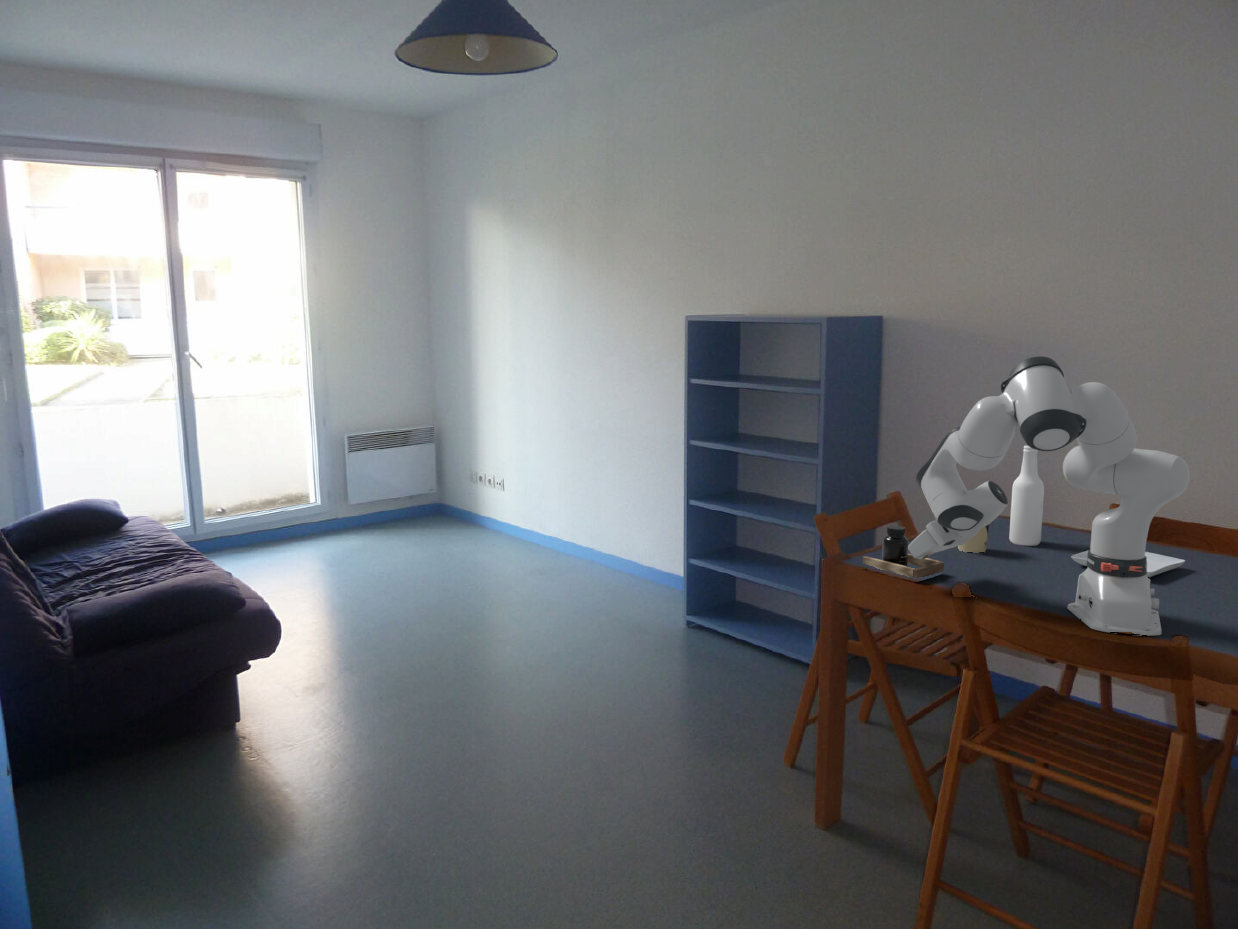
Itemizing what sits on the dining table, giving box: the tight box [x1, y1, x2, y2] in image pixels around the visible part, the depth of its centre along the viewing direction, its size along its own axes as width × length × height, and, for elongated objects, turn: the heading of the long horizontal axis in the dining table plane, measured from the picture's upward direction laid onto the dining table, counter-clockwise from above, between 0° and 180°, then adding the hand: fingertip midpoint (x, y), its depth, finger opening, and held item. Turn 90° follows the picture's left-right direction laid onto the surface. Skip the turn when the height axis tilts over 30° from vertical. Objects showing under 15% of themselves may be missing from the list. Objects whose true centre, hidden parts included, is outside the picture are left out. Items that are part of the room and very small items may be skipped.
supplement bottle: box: [881, 525, 910, 566], centre depth 239 cm, size 7×7×12 cm
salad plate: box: [1070, 550, 1186, 578], centre depth 239 cm, size 21×21×3 cm
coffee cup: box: [957, 524, 990, 554], centre depth 258 cm, size 9×9×12 cm
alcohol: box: [1008, 444, 1045, 547], centre depth 264 cm, size 9×9×30 cm
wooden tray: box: [862, 553, 945, 578], centre depth 238 cm, size 17×12×4 cm
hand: (920, 556), depth 233 cm, fingers closed
